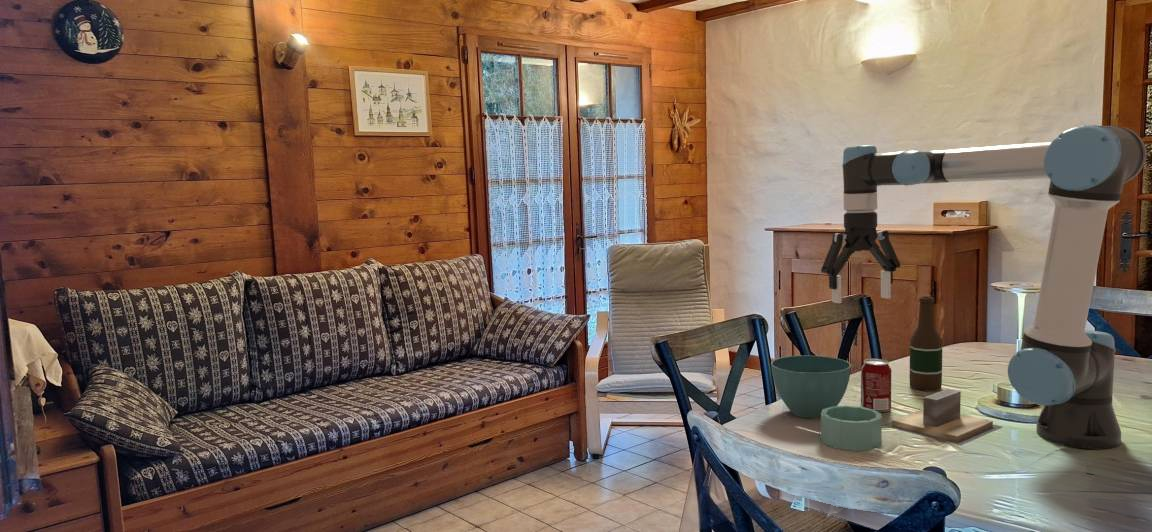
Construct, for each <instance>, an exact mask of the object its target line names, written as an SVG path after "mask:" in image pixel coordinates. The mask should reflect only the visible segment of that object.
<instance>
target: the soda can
mask: <svg viewBox="0 0 1152 532" xmlns="http://www.w3.org/2000/svg"><path fill="white" fill-rule="evenodd" d="M860 407H865V408H869V409H873V410H875V411H877V412H879V413H880V414H881V413H886V412H890V411H891V410H892V368H891V367H890V365H889V361H888V360H885V359H881V358H868V359H864V360H863V364H862V366H861V368H860Z"/></svg>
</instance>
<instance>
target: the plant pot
mask: <svg viewBox="0 0 1152 532" xmlns="http://www.w3.org/2000/svg"><path fill="white" fill-rule="evenodd" d="M770 366H771V374H772V379H773V383H774V385H775V389H776V391H777V392H778V395H779V397H780V399H781V400H782V401H783V403H784V404H785V406H786V407H787V408H788V410H789V411H790V413H792V414H793V415H794V416H796V417H799V418H803V419H816V418H817V419H819V418H821V412H822V409H825V408H829V407H831V406H839V404H840V402H841V401H842V399H843V398H844V396H845V394H846V391H847V389H848V386H849V382H850V377H851V370H852V364H851V363H850V362H849V361H847V360H844V359H840V358H838V357H831V356H823V355H807V354H806V355H790V356H783V357H782V356H781V357H779V358H775V359H774V360H772V361H771V362H770Z"/></svg>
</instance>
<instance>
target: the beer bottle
mask: <svg viewBox="0 0 1152 532" xmlns="http://www.w3.org/2000/svg"><path fill="white" fill-rule="evenodd" d="M935 301H936V300H935V298H934V297H932V296H920V297H919V299H918V302H919V309H918V310H919V311H918V312H919V313H918V322H917V327H916V328H915V330H914V331H913V332H912V334H911V337H910V341H909V387H911V388H912V389H913V390H917V391H924V392H933V391H934V392H935V391H937V392H938V390H940V389H941V388H942V384H943V383H942V382H943V340H942V337H941V335H940V332H939V331H938V330H937V328H936V325H935V311H934V310H935V309H934V308H935V307H934V302H935Z"/></svg>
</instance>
